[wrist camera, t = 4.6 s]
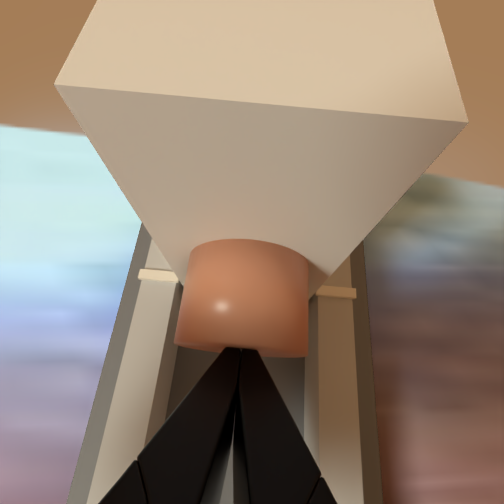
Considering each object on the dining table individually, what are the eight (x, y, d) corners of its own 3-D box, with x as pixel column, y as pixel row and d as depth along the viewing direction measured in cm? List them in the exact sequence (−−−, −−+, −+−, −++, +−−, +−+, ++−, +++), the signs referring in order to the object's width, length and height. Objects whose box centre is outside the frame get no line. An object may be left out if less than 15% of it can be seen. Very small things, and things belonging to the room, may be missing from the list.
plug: (299, 365, 13) (527, 326, 3) (181, 354, 13) (-45, 273, 3) (301, 251, 15) (429, -11, 5) (201, 242, 15) (118, -39, 5)
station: (388, 740, 9) (595, 1248, 4) (24, 708, 9) (-276, 1170, 4) (353, 208, 18) (405, 131, 12) (157, 190, 18) (120, 105, 12)
